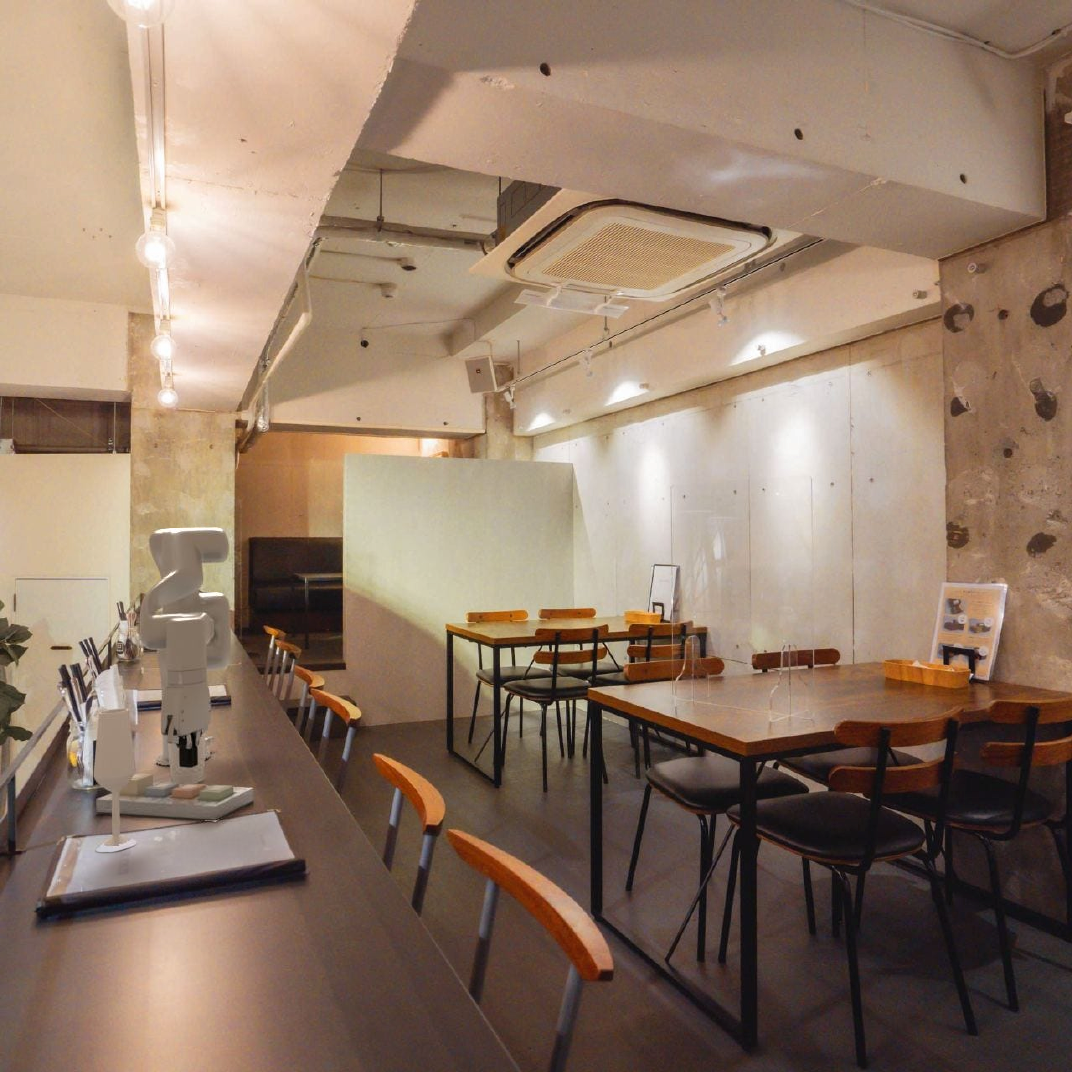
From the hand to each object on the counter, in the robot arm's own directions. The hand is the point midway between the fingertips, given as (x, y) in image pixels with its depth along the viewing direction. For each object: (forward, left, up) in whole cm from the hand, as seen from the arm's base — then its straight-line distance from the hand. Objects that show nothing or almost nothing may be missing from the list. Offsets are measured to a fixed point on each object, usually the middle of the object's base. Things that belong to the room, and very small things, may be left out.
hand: (188, 766), depth 159 cm
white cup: (-16, -14, -9) cm, 23 cm away
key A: (+1, +1, -8) cm, 8 cm away
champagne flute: (+21, +1, -9) cm, 22 cm away
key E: (+1, +7, -8) cm, 10 cm away
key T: (+1, -6, -8) cm, 10 cm away
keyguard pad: (+1, -3, -9) cm, 9 cm away
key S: (+1, -12, -6) cm, 14 cm away
